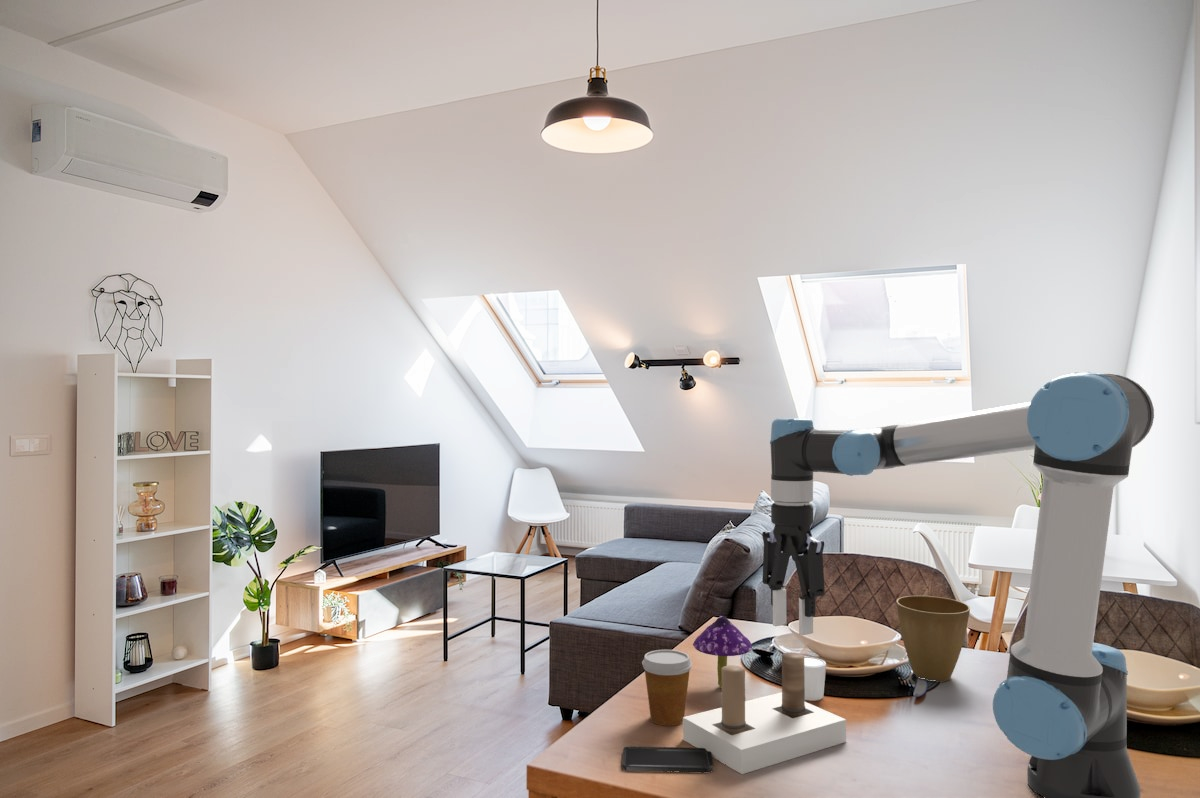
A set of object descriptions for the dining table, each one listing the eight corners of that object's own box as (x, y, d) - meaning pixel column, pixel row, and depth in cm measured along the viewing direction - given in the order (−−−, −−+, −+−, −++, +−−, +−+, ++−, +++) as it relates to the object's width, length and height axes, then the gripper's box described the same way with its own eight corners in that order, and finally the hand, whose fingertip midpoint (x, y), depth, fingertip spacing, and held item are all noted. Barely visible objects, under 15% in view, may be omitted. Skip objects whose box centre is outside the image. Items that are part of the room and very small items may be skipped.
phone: (713, 768, 135) (621, 766, 136) (713, 775, 135) (621, 772, 136) (710, 747, 143) (623, 745, 144) (710, 754, 143) (623, 752, 144)
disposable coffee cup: (634, 723, 156) (633, 660, 156) (654, 706, 164) (654, 646, 164) (681, 733, 151) (680, 667, 151) (699, 715, 160) (699, 653, 160)
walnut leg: (810, 734, 151) (809, 657, 151) (793, 739, 148) (792, 661, 148) (793, 726, 154) (793, 651, 154) (776, 730, 152) (776, 654, 152)
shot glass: (827, 702, 166) (827, 667, 166) (792, 700, 167) (792, 665, 167) (825, 690, 173) (825, 657, 173) (791, 688, 174) (791, 655, 174)
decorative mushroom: (750, 678, 180) (750, 609, 180) (755, 699, 168) (754, 625, 168) (692, 676, 182) (692, 608, 182) (693, 696, 169) (692, 623, 169)
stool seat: (846, 741, 147) (845, 663, 147) (741, 774, 135) (741, 688, 135) (782, 712, 161) (782, 640, 161) (682, 739, 149) (682, 661, 148)
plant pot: (898, 684, 176) (898, 609, 176) (895, 663, 190) (894, 593, 190) (975, 691, 171) (974, 614, 171) (965, 669, 186) (965, 597, 185)
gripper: (846, 507, 145) (847, 639, 145) (771, 495, 161) (772, 614, 161) (815, 510, 141) (816, 646, 141) (741, 498, 157) (742, 620, 158)
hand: (792, 629), depth 151 cm, fingers open, 6 cm apart
